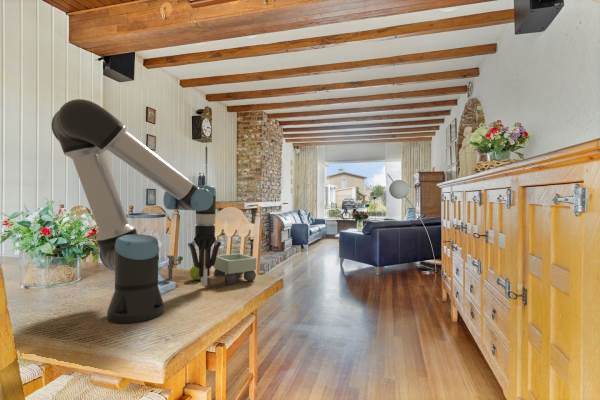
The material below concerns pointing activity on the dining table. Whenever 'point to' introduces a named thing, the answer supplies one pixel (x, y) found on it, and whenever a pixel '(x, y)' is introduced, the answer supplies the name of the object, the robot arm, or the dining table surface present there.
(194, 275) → the tennis ball
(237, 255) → the trolley
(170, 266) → the mechanical component
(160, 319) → the dining table surface
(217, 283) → the chock
